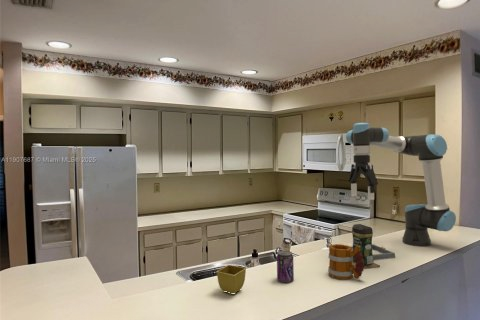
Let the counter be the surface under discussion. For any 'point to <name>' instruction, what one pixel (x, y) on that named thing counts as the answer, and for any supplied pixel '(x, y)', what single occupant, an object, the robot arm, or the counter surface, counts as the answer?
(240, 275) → the flower pot
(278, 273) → the beverage can
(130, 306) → the counter surface
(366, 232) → the coffee jar
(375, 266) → the pad
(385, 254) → the grey square shallow frame
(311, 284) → the counter surface
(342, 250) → the mug
